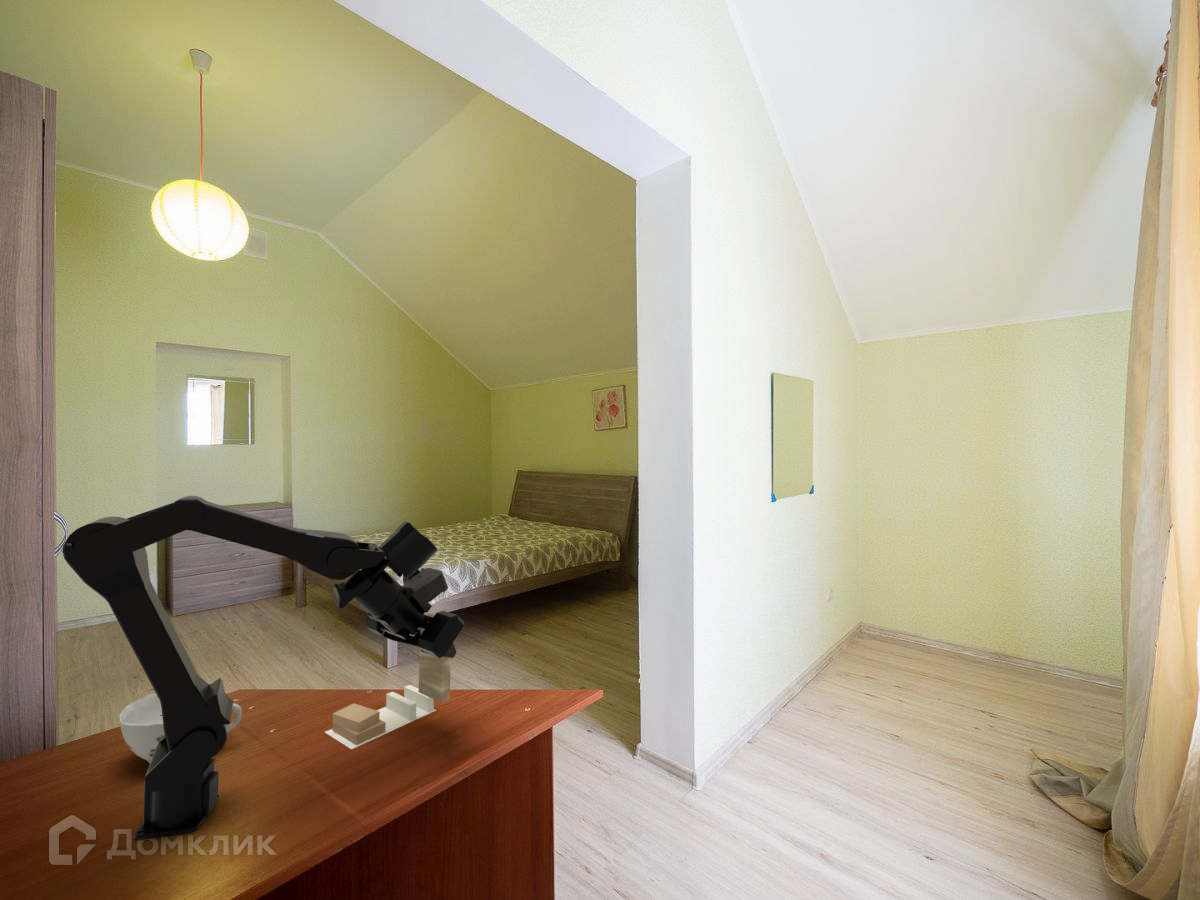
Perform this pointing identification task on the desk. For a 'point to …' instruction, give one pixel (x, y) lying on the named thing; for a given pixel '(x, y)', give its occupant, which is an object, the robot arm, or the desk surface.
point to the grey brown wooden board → (434, 675)
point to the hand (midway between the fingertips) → (442, 650)
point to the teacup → (149, 725)
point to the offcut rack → (379, 717)
